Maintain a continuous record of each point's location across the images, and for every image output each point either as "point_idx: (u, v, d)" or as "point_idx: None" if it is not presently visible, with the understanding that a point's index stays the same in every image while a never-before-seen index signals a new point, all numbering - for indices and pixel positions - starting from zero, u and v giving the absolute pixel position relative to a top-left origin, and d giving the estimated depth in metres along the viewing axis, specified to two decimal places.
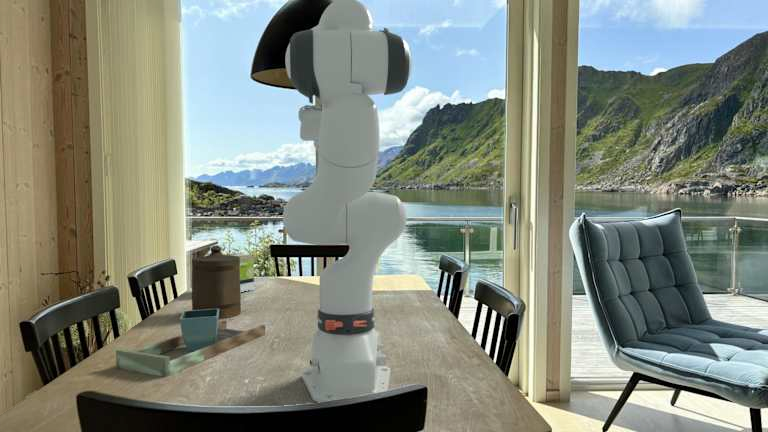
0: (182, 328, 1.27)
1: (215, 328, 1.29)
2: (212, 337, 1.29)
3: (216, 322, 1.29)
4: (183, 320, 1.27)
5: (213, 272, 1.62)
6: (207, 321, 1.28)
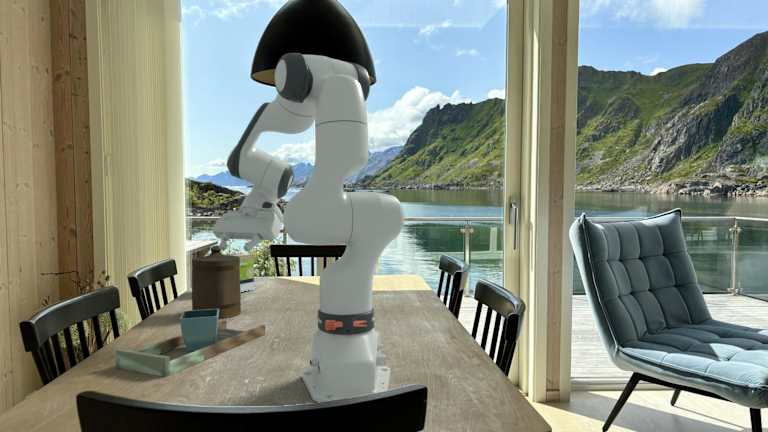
0: (182, 328, 1.27)
1: (215, 328, 1.29)
2: (212, 337, 1.29)
3: (216, 322, 1.29)
4: (183, 320, 1.27)
5: (213, 272, 1.62)
6: (207, 321, 1.28)
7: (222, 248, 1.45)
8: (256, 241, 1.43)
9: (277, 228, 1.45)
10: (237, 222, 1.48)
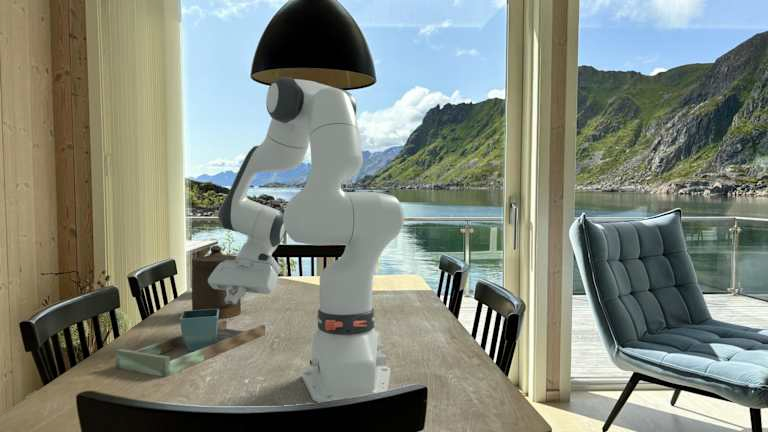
0: (182, 328, 1.27)
1: (215, 328, 1.29)
2: (212, 337, 1.29)
3: (216, 322, 1.29)
4: (183, 320, 1.27)
5: None
6: (207, 321, 1.28)
7: (228, 302, 1.43)
8: (241, 294, 1.43)
9: (273, 281, 1.44)
10: (233, 274, 1.47)
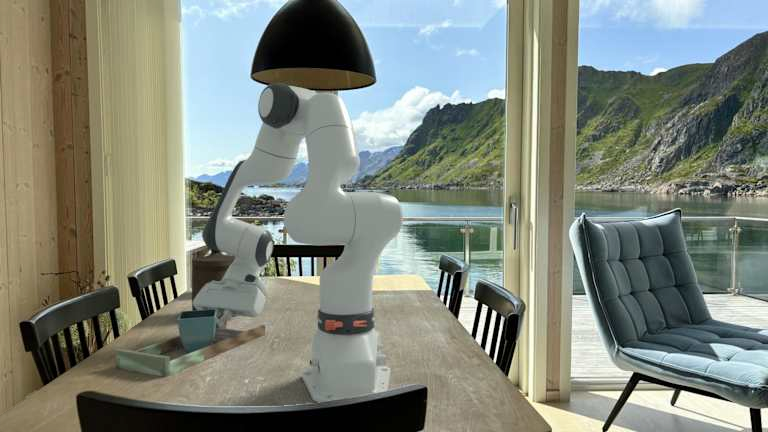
0: (180, 328, 1.26)
1: (213, 328, 1.28)
2: (210, 338, 1.28)
3: (214, 322, 1.28)
4: (181, 320, 1.26)
5: (213, 272, 1.62)
6: (205, 321, 1.27)
7: None
8: (227, 317, 1.38)
9: (261, 303, 1.38)
10: (219, 296, 1.41)
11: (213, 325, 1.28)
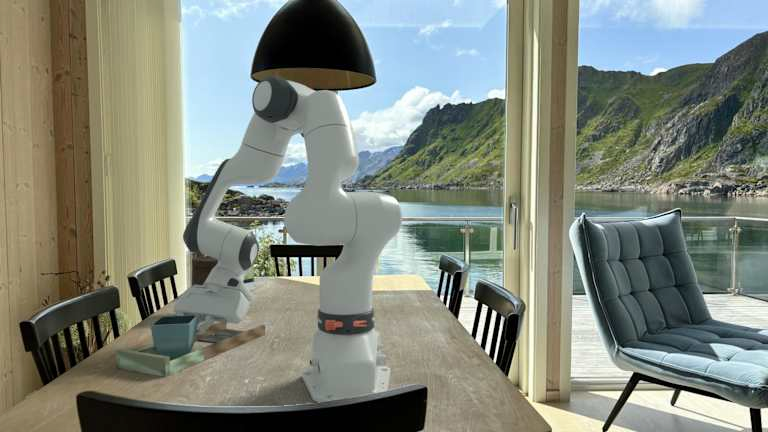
0: (153, 335, 1.21)
1: (187, 336, 1.22)
2: (184, 345, 1.22)
3: (188, 330, 1.22)
4: (154, 327, 1.20)
5: None
6: (179, 328, 1.21)
7: None
8: (209, 323, 1.31)
9: (244, 309, 1.32)
10: (200, 301, 1.35)
11: (187, 332, 1.22)
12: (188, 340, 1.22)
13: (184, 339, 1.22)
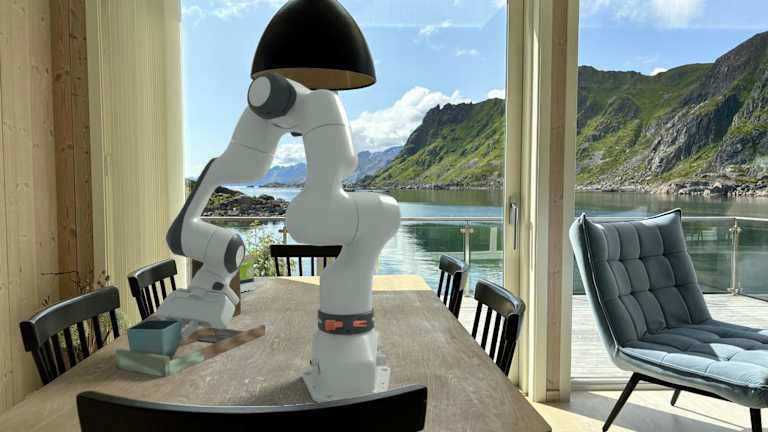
0: (128, 339, 1.17)
1: (160, 343, 1.16)
2: (158, 352, 1.17)
3: (161, 336, 1.16)
4: (129, 331, 1.17)
5: None
6: (152, 334, 1.16)
7: None
8: (193, 329, 1.26)
9: (229, 314, 1.27)
10: (184, 305, 1.30)
11: (160, 339, 1.16)
12: (161, 347, 1.17)
13: (157, 346, 1.16)
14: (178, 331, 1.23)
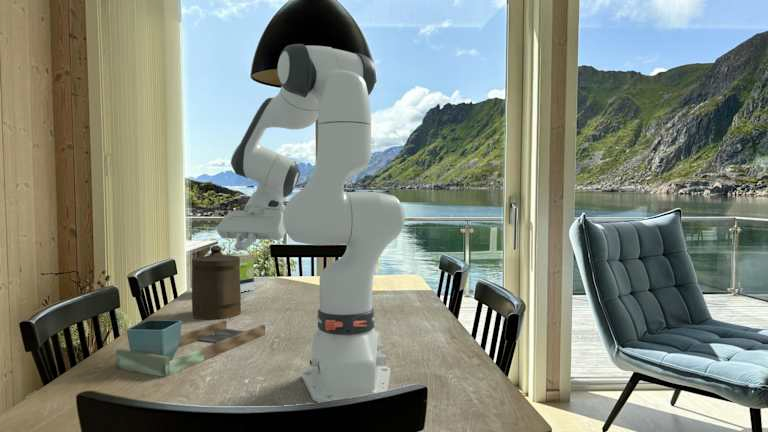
0: (128, 340, 1.17)
1: (160, 343, 1.16)
2: (158, 353, 1.17)
3: (161, 337, 1.16)
4: (129, 331, 1.17)
5: (213, 272, 1.62)
6: (152, 335, 1.16)
7: (238, 248, 1.40)
8: (251, 240, 1.41)
9: None
10: (242, 221, 1.44)
11: (160, 339, 1.16)
12: (161, 347, 1.17)
13: (157, 346, 1.16)
14: (178, 331, 1.23)
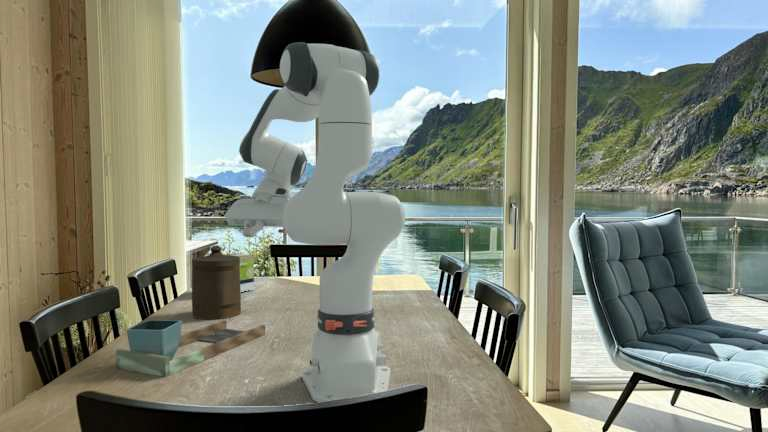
0: (128, 340, 1.17)
1: (160, 343, 1.16)
2: (158, 353, 1.17)
3: (161, 337, 1.16)
4: (129, 331, 1.17)
5: (213, 272, 1.62)
6: (152, 335, 1.16)
7: (246, 235, 1.42)
8: (259, 227, 1.43)
9: None
10: (250, 209, 1.46)
11: (160, 339, 1.16)
12: (161, 347, 1.17)
13: (157, 346, 1.16)
14: (178, 331, 1.23)
